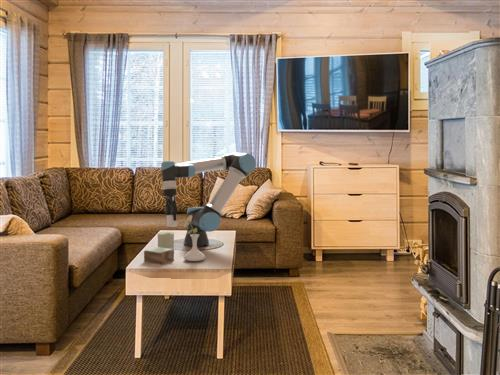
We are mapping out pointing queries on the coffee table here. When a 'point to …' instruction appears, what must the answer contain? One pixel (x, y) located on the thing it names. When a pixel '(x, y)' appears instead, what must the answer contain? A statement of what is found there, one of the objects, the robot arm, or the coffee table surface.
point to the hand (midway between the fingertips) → (172, 226)
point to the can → (166, 240)
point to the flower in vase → (194, 252)
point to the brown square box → (158, 255)
